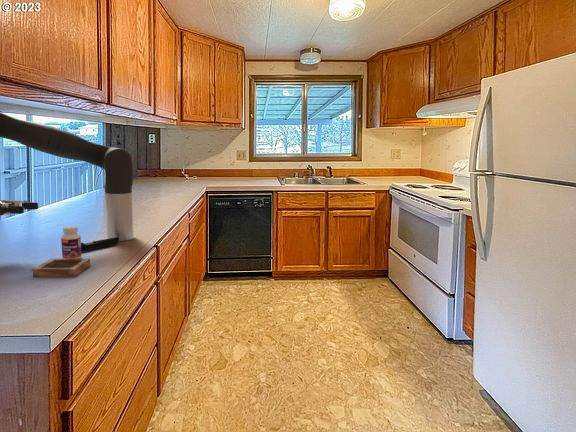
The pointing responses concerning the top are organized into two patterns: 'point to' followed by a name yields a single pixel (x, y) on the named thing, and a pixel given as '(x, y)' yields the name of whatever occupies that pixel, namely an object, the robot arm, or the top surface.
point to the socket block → (48, 269)
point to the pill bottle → (71, 243)
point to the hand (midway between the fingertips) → (30, 207)
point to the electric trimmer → (99, 244)
